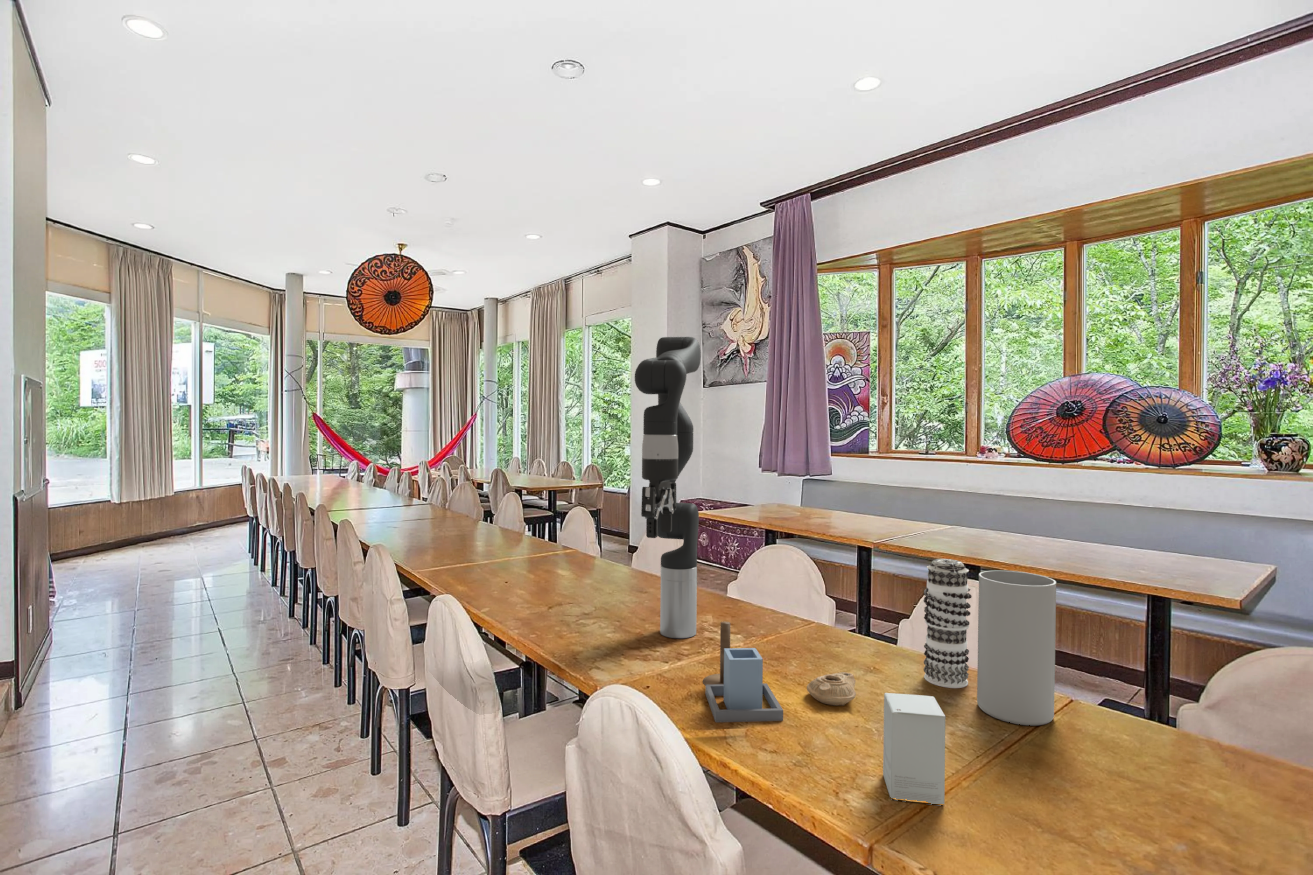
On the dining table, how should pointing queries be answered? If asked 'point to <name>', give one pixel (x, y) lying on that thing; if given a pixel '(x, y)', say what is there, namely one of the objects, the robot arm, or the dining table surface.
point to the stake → (723, 644)
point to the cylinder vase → (1016, 646)
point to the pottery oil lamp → (833, 688)
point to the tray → (744, 714)
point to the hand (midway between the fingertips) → (659, 534)
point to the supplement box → (914, 748)
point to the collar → (743, 678)
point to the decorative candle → (946, 624)
